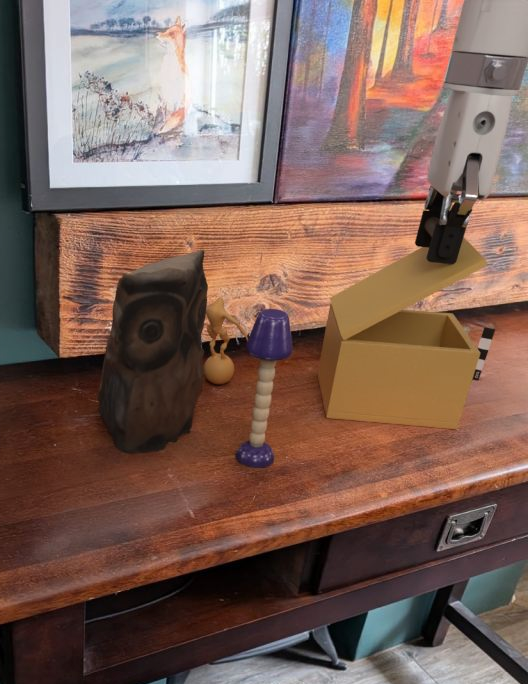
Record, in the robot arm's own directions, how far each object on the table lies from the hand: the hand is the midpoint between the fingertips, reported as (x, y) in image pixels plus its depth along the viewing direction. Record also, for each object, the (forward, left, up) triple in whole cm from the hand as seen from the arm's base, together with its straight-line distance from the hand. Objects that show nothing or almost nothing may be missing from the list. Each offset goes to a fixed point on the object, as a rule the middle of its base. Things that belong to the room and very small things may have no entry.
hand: (434, 252), depth 86 cm
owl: (+32, +13, -19) cm, 39 cm away
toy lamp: (+19, +19, -19) cm, 33 cm away
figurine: (+24, 0, -19) cm, 31 cm away
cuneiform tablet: (-8, -14, -19) cm, 25 cm away
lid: (+3, 0, -4) cm, 5 cm away
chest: (+2, 0, -19) cm, 19 cm away
